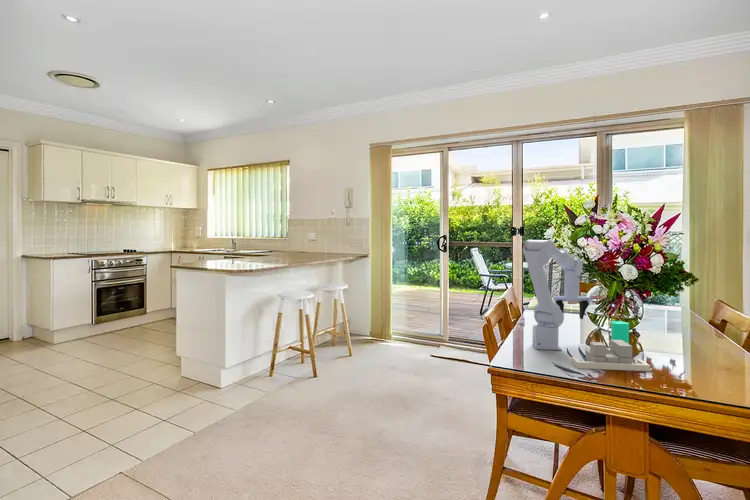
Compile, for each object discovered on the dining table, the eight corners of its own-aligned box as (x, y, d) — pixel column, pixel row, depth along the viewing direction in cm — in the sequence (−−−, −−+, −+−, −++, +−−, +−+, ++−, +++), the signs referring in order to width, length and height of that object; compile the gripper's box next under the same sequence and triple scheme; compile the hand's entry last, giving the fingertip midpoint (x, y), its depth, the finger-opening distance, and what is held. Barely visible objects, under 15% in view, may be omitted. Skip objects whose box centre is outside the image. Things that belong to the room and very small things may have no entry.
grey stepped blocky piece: (616, 358, 145) (617, 336, 145) (632, 369, 133) (632, 346, 133) (581, 356, 147) (581, 335, 147) (593, 367, 135) (594, 344, 135)
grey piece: (577, 368, 135) (577, 362, 135) (571, 362, 141) (571, 356, 141) (649, 371, 131) (650, 365, 131) (640, 365, 137) (640, 359, 137)
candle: (631, 351, 153) (632, 320, 152) (614, 350, 154) (614, 319, 154) (625, 346, 159) (625, 317, 158) (608, 346, 160) (608, 316, 160)
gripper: (587, 285, 170) (586, 316, 171) (551, 285, 173) (550, 315, 174) (592, 287, 164) (592, 320, 164) (555, 287, 166) (555, 319, 167)
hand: (571, 318), depth 168 cm, fingers open, 7 cm apart
